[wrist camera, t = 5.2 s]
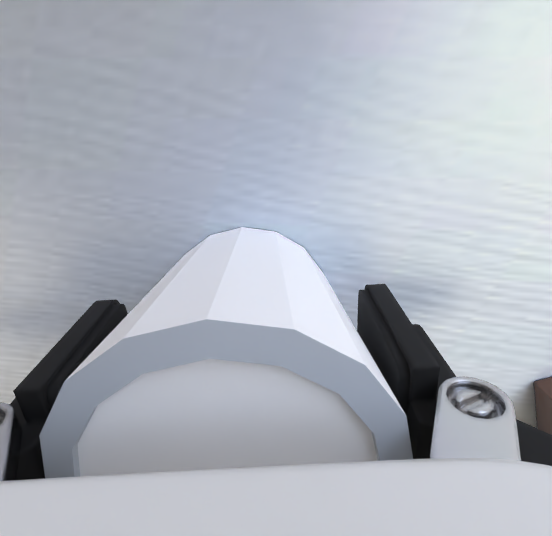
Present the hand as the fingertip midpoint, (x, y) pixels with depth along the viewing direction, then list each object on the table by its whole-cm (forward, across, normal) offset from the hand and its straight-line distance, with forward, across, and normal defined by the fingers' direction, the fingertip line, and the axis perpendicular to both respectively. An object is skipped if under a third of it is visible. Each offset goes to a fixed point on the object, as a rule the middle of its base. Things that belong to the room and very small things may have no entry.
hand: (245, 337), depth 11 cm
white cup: (+2, 0, 0) cm, 2 cm away
